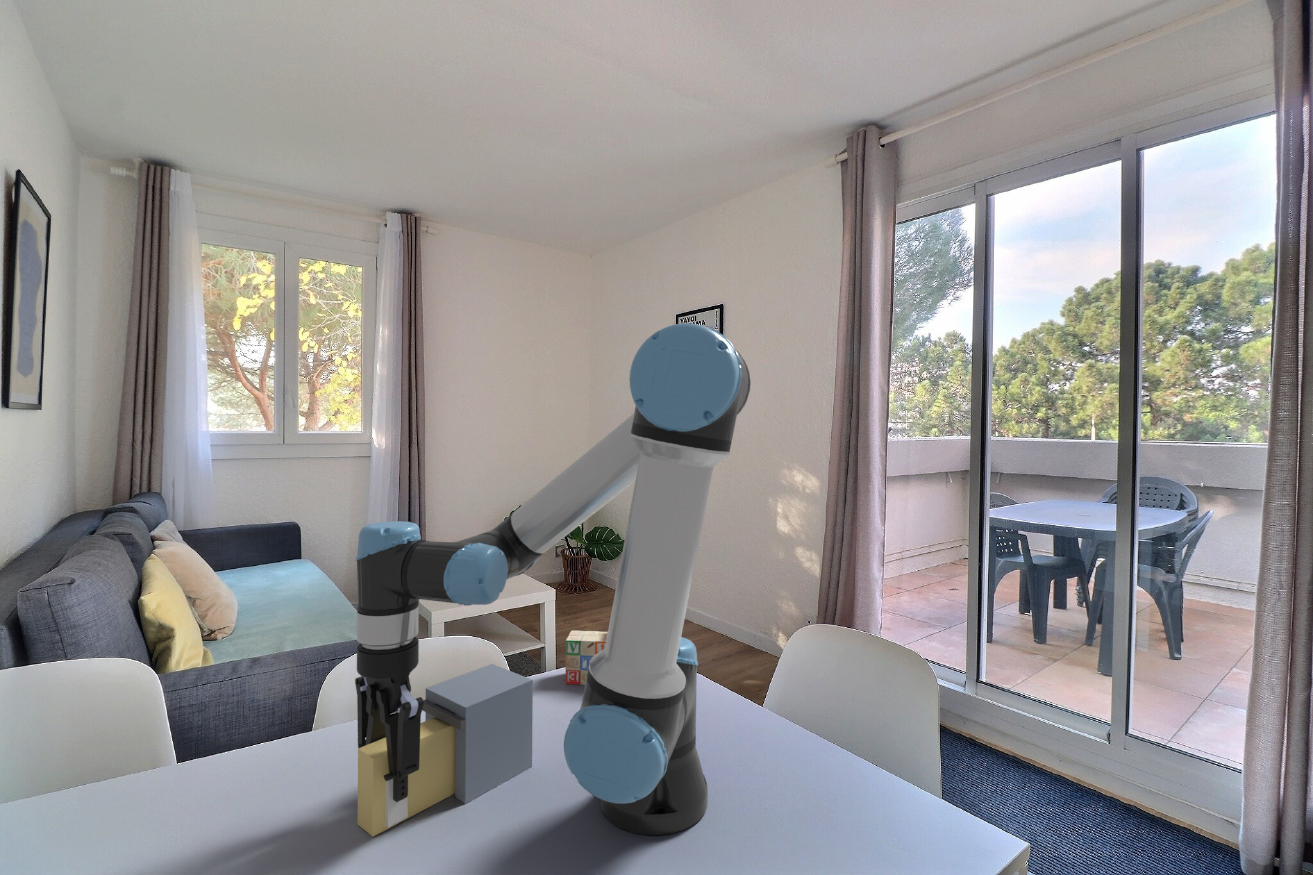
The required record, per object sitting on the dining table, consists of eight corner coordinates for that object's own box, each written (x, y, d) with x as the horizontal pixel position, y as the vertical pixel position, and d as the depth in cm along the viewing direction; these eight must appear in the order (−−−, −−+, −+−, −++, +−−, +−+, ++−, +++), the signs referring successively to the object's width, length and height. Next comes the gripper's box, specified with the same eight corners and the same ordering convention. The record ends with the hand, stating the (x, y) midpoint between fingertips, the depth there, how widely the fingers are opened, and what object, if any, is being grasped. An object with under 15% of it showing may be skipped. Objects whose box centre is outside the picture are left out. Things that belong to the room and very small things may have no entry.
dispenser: (532, 766, 94) (532, 679, 94) (460, 806, 84) (460, 709, 84) (491, 745, 101) (492, 663, 100) (420, 780, 90) (420, 689, 90)
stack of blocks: (564, 685, 125) (565, 625, 124) (570, 672, 131) (571, 615, 131) (669, 689, 123) (670, 628, 123) (670, 676, 129) (671, 618, 129)
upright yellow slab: (467, 786, 89) (467, 718, 89) (372, 836, 78) (373, 759, 78) (451, 776, 91) (451, 710, 91) (357, 823, 80) (358, 748, 80)
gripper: (450, 647, 79) (448, 826, 79) (383, 619, 89) (382, 777, 90) (394, 664, 73) (393, 858, 73) (329, 632, 83) (328, 802, 84)
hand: (387, 813), depth 81 cm, fingers closed on upright yellow slab, 4 cm apart
